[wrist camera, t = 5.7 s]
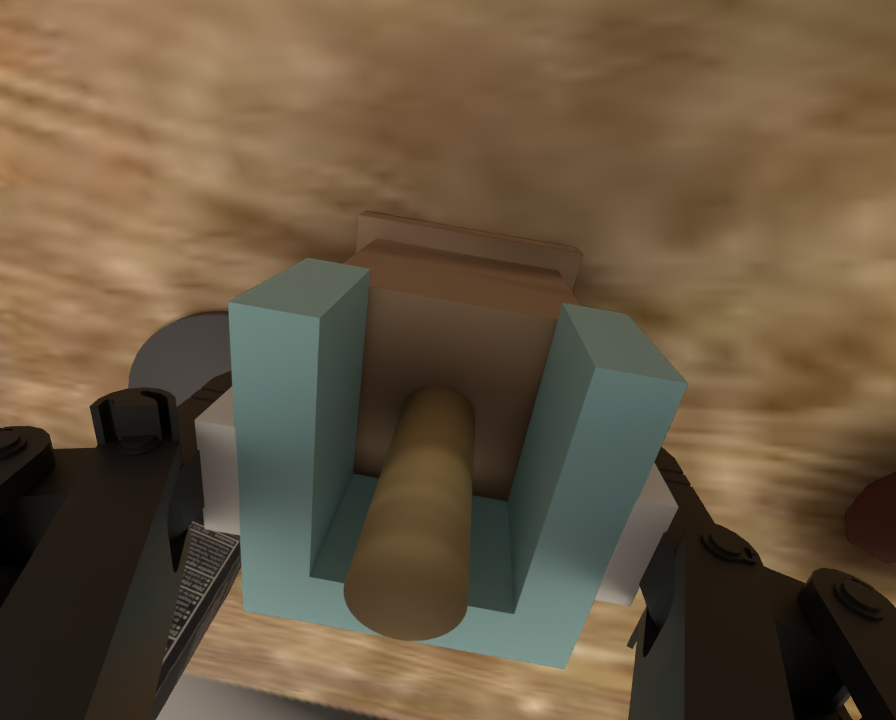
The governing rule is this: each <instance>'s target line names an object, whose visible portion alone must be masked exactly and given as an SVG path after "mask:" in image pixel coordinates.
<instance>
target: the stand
mask: <svg viewBox="0 0 896 720" xmlns="http://www.w3.org/2000/svg"><path fill="white" fill-rule="evenodd" d="M582 256H583V254H582V253H581V252H580V251H579V250H578V249H577V248H574V247H568V246H563V245H557V244H551V243H545V242H540V241H534V240H528V239H522V238H517V237H511V236H505V235H500V234H494V233H488V232H482V231H477V230H471V229H465V228H460V227H454V226H448V225H442V224H437V223H431V222H425V221H419V220H414V219H408V218H402V217H397V216H391V215H385V214H379V213H374V212H368V211H366V212H363V213H361V214H359V215H358V223H357V237H356V251H355V255H353V256H352V257H351V258H349V259H348V260H347V261H345V262H344V263H343V264H346V265H352V266H357V267H363V268H369V269H371V272H370V284H369V296H368V307H367V319H366V330H365V342H364V354H363V365H362V377H361V388H360V400H359V412H358V423H357V435H356V446H355V458H354V470H353V474H358V475H363V476H369V477H374V478H379V480H378V483H377V486H376V489H375V492H374V495H373V498H372V501H371V504H370V507H369V510H368V513H367V516H366V519H365V522H364V525H363V529H362V532H361V535H360V538H359V541H358V544H357V547H356V550H355V553H354V556H353V559H352V562H351V565H350V568H349V571H348V574H347V577H346V580H345V583H344V588H343V592H344V599H345V602H346V605H347V607H348V609H349V611H350V612H351V613H352V615H353V616H354V617H355V618H356V619H357V620H358V621H359V622H360V623H362V624H363V625H364V626H366V627H367V628H369V629H370V630H372V631H374V632H376V633H378V634H381V635H383V636H386V637H389V638H393V639H398V640H405V641H423V640H429V639H434V638H437V637H440V636H443V635H445V634H447V633H449V632H450V631H452V630H453V629H455V628H456V627H457V626H458V625H459V624H460V623H461V622H462V620H463V619H464V617H465V615H466V612H467V607H468V589H469V563H470V537H471V511H472V495H474V496H480V497H485V498H491V499H496V500H502V501H507V502H508V499H509V495H510V491H511V488H512V484H513V481H514V477H515V473H516V470H517V466H518V463H519V459H520V455H521V452H522V448H523V444H524V441H525V437H526V434H527V430H528V426H529V423H530V419H531V416H532V412H533V408H534V405H535V401H536V397H537V394H538V390H539V387H540V383H541V379H542V376H543V372H544V368H545V365H546V361H547V358H548V354H549V350H550V347H551V343H552V340H553V336H554V332H555V329H556V325H557V321H558V318H559V314H560V311H561V307H562V303H567V304H573V305H578V306H581V305H580V304H579V302H578V300H577V299H576V297H575V296H574V294H573V293H572V292H573V288H574V285H575V281H576V278H577V274H578V271H579V267H580V263H581V260H582Z"/></svg>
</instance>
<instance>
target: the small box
mask: <svg viewBox="0 0 896 720" xmlns="http://www.w3.org/2000/svg"><path fill="white" fill-rule="evenodd" d="M190 530H191V544H190V548H189V552H188V557H187V561H186V565H185V569H184V574H183V578H182V582H181V586H180V591H179V595H178V599H177V603H176V608H175V612H174V616H173V620H172V625H171V629H170V633H169V637H168V642H167V646H166V650H165V654H164V659H163V663H162V667H161V671H160V676H159V680H158V684H157V688H156V693H155V697H154V701H153V705H152V710H151V714H150V718H149V720H155V719H156V718H157V716H158V715H159V713H160V711H161V710H162V708H163V706H164V705H165V703H166V701H167V699H168V697H169V695H170V694H171V692H172V690H173V689H174V687H175V685H176V684H177V682H178V680H179V678H180V677H181V675H182V673H183V671H184V670H185V668H186V666H187V664H188V663H189V661H190V659H191V657H192V656H193V654H194V652H195V650H196V648H197V647H198V645H199V643H200V641H201V640H202V638H203V636H204V634H205V633H206V631H207V629H208V628H209V626H210V624H211V622H212V620H213V619H214V617H215V615H216V614H217V612H218V610H219V608H220V607H221V605H222V603H223V602H224V600H225V598H226V597H227V595H228V593H229V591H230V589H231V587H232V585H233V583H234V580H235V578H236V576H237V574H238V572H239V570H240V568H241V549H240V535H234V534H229V533H223V532H218V531H212V530H207V529H205V526H204V516H203V511H202V510H201V512H200V513H199V514H198V515H197V517H196V518H195V519H194V520H193V522H192V523H191V524H190Z"/></svg>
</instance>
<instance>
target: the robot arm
mask: <svg viewBox="0 0 896 720" xmlns="http://www.w3.org/2000/svg"><path fill="white" fill-rule="evenodd" d="M90 410H91V415H92V420H93V424H94V429H95V434H96V439H97V444H98V445H97V447H96V448H72V449H53V447H52V443H51V439H50V435H49V434H48V433H47V432H46V431H44V430H43V429H40V428H36V427H31V426H10V427H4V428H0V720H149V718H150V714H151V710H152V705H153V701H154V697H155V693H156V688H157V684H158V680H159V676H160V671H161V667H162V663H163V659H164V654H165V650H166V646H167V642H168V637H169V633H170V629H171V625H172V620H173V616H174V612H175V608H176V603H177V599H178V595H179V591H180V586H181V582H182V578H183V574H184V569H185V565H186V561H187V557H188V552H189V548H190V544H191V530H190V524H191V523H192V522H193V520H194V519H195V518H196V517H197V515H198V514H199V513H200V512H201V510H202V509H203V516H204V526H205V529H207V530H212V531H218V532H223V533H229V534H234V535H241V526H240V505H239V485H238V464H237V444H236V426H234V409H233V390H232V370H231V371H228V372H226V373H223V374H221V375H218V376H216V377H214V378H212V379H211V380H210V381H209V382H207V383H206V384H205V385H204V386H202V387H201V390H198V391H196V392H195V393H194V394H193V395H191V397H190V398H188V399H186V400H185V401H184V402H183V403H181V404H180V405H179V406H178V407H177V404H176V397H175V396H174V395H172V394H171V393H170V392H168V391H165V390H162V389H159V388H147V387H141V388H130V389H125V390H121V391H117V392H113V393H110V394H108V395H106V396H104V397H101V398H99V399H98V400H97V401H95V402H94V403H93V404H92V405H91V406H90ZM639 587H640V588H641V591H642V594H643V596H644V599H645V602H646V605H647V606H646V608H645V610H644V612H643V614H642V616H641V618H640V620H639V622H638V624H637V626H636V628H635V630H634V632H633V634H632V635H631V637H630V640H629V642H628V644H627V646H628V647H630V648H632V649H633V647H634V645H635V643H636V641H637V646H636V655H635V664H634V673H633V682H632V691H631V700H630V709H629V718H628V720H853V719H852V718H851V717H850V715H849V713H848V711H847V710H846V708H845V706H844V703H845V702H846V701H847V700H848V699H849V697H850V696H851V697H852V699H853V701H854V703H855V704H856V706H857V708H858V710H859V712H860V713H861V716H862V718H861V719H860V720H896V608H895V607H894V605H893V604H892V603H891V602H890V601H889V600H888V599H887V598H885V597H884V596H883V595H882V594H880V593H879V592H878V591H876V590H875V589H874V588H873V587H872V586H870V585H869V584H867V583H865V582H864V581H863V582H862V581H861V580H860V579H858V578H856V577H854V576H852V575H849V574H846V573H844V572H841V571H838V570H835V569H828V568H821V569H818V570H815V571H814V572H813V573H812V575H811V576H810V578H809V579H808V580H807V582H806V583H804V582H801V581H799V580H796V579H794V578H791V577H789V576H786V575H784V574H781V573H779V572H776V571H774V570H771V569H769V568H767V567H765V566H763V563H762V561H761V559H760V557H759V555H758V553H757V552H756V551H755V550H754V549H753V547H752V546H751V545H750V544H749V543H748V542H747V541H745V540H744V539H743V538H741V537H740V536H739V535H737V534H736V533H735V532H733V531H731V530H729V529H727V528H725V527H723V526H721V525H718V524H715V523H714V521H713V520H712V518H711V516H710V515H709V513H708V512H707V510H706V508H705V507H704V505H703V503H702V502H701V500H700V499H699V497H698V495H697V494H696V492H695V490H694V489H693V487H690V482H689V481H688V479H687V478H686V476H685V475H683V471H682V469H681V468H680V466H679V465H678V463H677V461H676V460H675V458H674V457H673V456H671V455H670V454H669V453H668V452H667V451H666V450H665V449H663V448H662V447H661V448H660V450H659V452H658V455H657V457H656V459H655V462H654V464H653V466H652V469H651V471H650V473H649V475H648V478H647V480H646V482H645V485H644V487H643V489H642V492H641V494H640V496H639V499H637V500H636V502H635V505H634V507H633V509H632V512H631V514H630V516H629V519H628V521H627V523H626V526H625V528H624V530H623V533H622V535H621V537H620V539H619V542H618V544H617V546H616V549H615V551H614V553H613V556H612V558H611V560H610V563H609V565H608V567H607V570H606V572H605V574H604V577H603V579H602V581H601V583H600V586H599V588H598V590H597V593H596V595H595V597H594V600H598V601H603V602H609V603H614V604H620V605H625V606H631V604H632V602H633V600H634V598H635V596H636V594H637V592H638V589H639Z"/></svg>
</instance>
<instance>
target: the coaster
mask: <svg viewBox="0 0 896 720" xmlns="http://www.w3.org/2000/svg"><path fill="white" fill-rule="evenodd" d="M228 371H231V350H230V330H229V312H206V313H200V314H194V315H191V316H188V317H185V318H182V319H180V320H178V321H176V322H174V323H172V324H170V325H168V326H166V327H164V328H162V329H161V330H160V331H158V332H157V333H155V334H154V335H153V336H151V337H150V338H149V339H148V340H147V342H146V343H145V344H144V345H143V346H142V348H141V349H140V350H139V352H138V353H137V355H136V357H135V360H134V362H133V364H132V367H131V372H130V376H129V387H128V389H130V388H141V387H147V388H159V389H162V390H165V391H168V392H170V393H171V394H172V395H174V396H175V397H176V404H177V407H178V406H179V405H180V404H181V403H183V402H184V401H185V400H186V399H188V398H190V397H191V395H193V394H194V393H195V392H196V391H198V390H201V387H202V386H204V385H205V384H206V383H207V382H209V381H210V380H211V379H212V378H214V377H216V376H218V375H221V374H223V373H226V372H228Z"/></svg>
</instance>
